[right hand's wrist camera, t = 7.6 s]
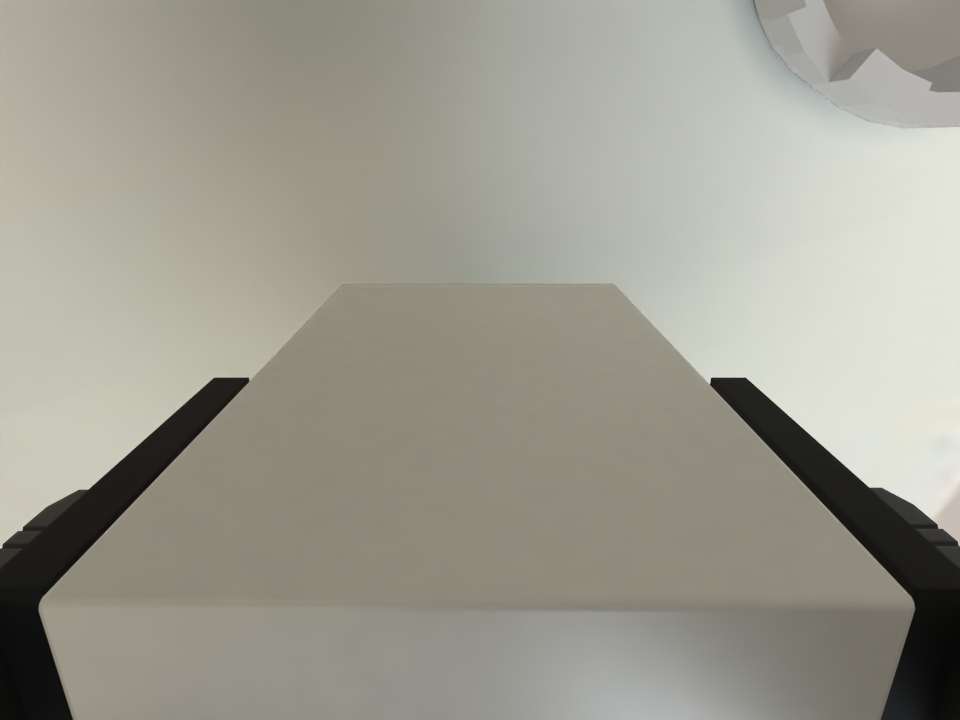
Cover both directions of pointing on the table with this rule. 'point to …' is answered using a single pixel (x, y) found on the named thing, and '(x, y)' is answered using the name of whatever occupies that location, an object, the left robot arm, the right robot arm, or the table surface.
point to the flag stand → (873, 55)
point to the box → (477, 537)
